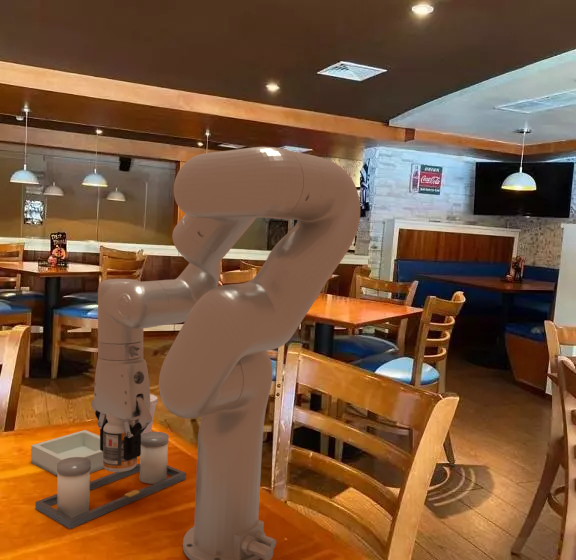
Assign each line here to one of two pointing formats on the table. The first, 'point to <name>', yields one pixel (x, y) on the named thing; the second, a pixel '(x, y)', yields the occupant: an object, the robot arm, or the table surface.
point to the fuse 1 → (73, 486)
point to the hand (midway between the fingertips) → (120, 452)
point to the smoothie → (151, 412)
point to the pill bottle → (115, 445)
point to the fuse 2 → (153, 457)
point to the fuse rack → (129, 497)
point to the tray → (68, 451)
